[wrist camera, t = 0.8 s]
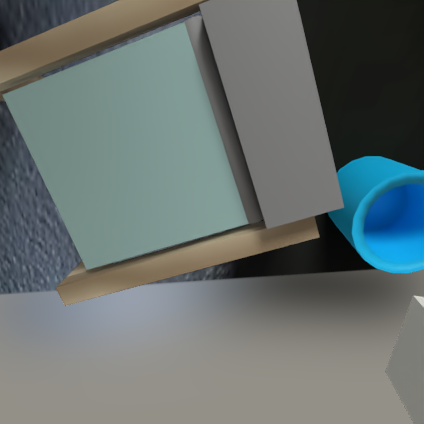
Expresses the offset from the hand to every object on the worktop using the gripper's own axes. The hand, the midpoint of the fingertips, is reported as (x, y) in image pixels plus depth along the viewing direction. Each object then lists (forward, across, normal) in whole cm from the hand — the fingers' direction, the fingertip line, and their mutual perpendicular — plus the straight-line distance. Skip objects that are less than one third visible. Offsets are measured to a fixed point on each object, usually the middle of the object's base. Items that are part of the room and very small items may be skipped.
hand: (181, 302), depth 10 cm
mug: (+24, +16, -1) cm, 30 cm away
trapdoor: (+14, -3, +3) cm, 15 cm away
